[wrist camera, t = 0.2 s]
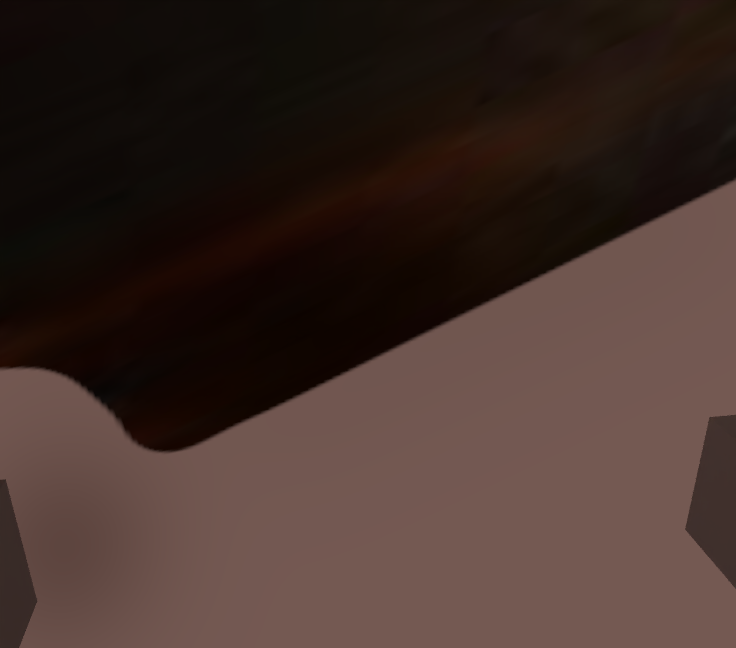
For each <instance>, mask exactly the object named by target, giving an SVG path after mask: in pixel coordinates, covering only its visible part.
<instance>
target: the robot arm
mask: <svg viewBox="0 0 736 648" xmlns="http://www.w3.org/2000/svg"><path fill="white" fill-rule="evenodd" d="M685 529H686V531H687V532H688V533H689V534H690V535H691V537H692V538H693V539H694V540H695V541H696V543H697V544H698V545H699V546H700V547H701V548H702V549H703V550H704V552H705V553H706V554H707V555H708V557H709V558H710V559H711V560H712V561H713V562H714V563H715V565H716V566H717V567H718V568H719V569H720V571H721V572H722V573H723V574H724V575H725V576H726V578H727V579H728V580H729V581H730V582H731V584H732V585H733V586H734V587H735V588H736V415H731V416H720V417H710V418H709V422H708V427H707V431H706V436H705V441H704V445H703V450H702V455H701V459H700V464H699V468H698V473H697V478H696V483H695V487H694V492H693V496H692V501H691V505H690V510H689V515H688V519H687V524H686V528H685ZM36 603H37V599H36V595H35V591H34V588H33V583H32V579H31V576H30V572H29V568H28V564H27V560H26V556H25V552H24V548H23V545H22V541H21V537H20V533H19V529H18V526H17V522H16V518H15V514H14V510H13V507H12V503H11V498H10V495H9V491H8V487H7V483H6V480H0V648H19V646H20V644H21V641H22V639H23V636H24V633H25V631H26V628H27V626H28V623H29V621H30V618H31V616H32V613H33V610H34V608H35V605H36Z"/></svg>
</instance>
